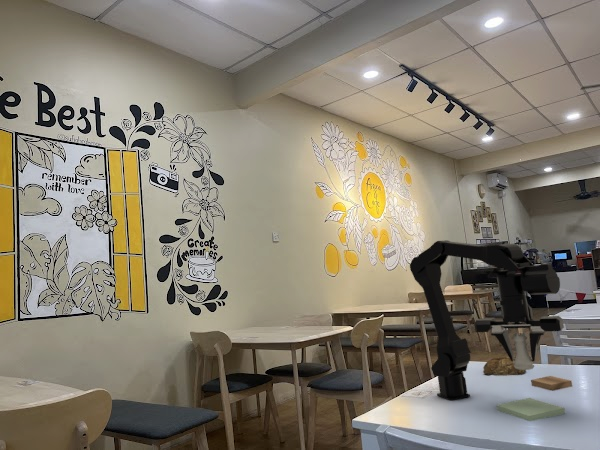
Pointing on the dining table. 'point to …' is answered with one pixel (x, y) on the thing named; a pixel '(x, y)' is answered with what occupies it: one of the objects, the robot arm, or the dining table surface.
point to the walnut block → (551, 383)
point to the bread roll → (501, 367)
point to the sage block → (530, 409)
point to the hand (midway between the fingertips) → (523, 361)
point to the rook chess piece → (522, 353)
